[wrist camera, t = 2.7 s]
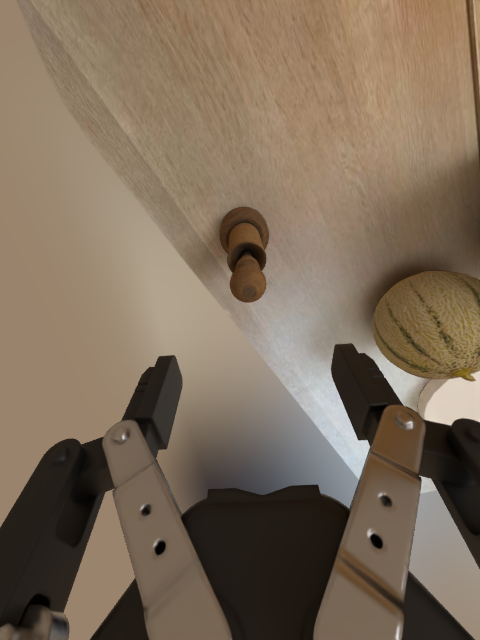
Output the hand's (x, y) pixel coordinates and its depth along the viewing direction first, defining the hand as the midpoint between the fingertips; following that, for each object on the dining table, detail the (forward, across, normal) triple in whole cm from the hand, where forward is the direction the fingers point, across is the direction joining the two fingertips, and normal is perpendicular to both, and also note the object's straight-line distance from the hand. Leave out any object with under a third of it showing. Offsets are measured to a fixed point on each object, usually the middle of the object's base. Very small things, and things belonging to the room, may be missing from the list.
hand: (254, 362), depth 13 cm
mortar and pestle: (+26, 0, 0) cm, 26 cm away
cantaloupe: (+26, -25, +13) cm, 38 cm away
